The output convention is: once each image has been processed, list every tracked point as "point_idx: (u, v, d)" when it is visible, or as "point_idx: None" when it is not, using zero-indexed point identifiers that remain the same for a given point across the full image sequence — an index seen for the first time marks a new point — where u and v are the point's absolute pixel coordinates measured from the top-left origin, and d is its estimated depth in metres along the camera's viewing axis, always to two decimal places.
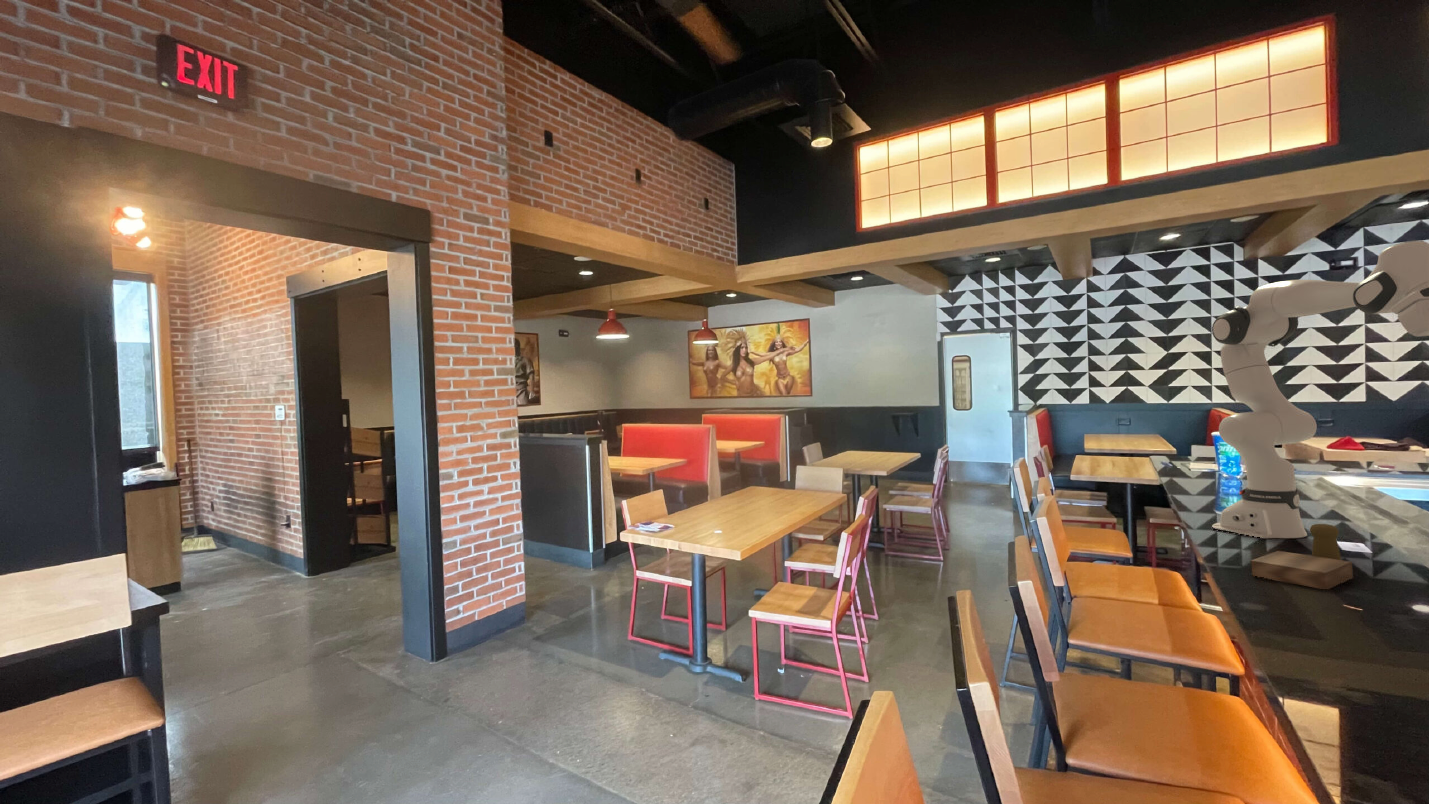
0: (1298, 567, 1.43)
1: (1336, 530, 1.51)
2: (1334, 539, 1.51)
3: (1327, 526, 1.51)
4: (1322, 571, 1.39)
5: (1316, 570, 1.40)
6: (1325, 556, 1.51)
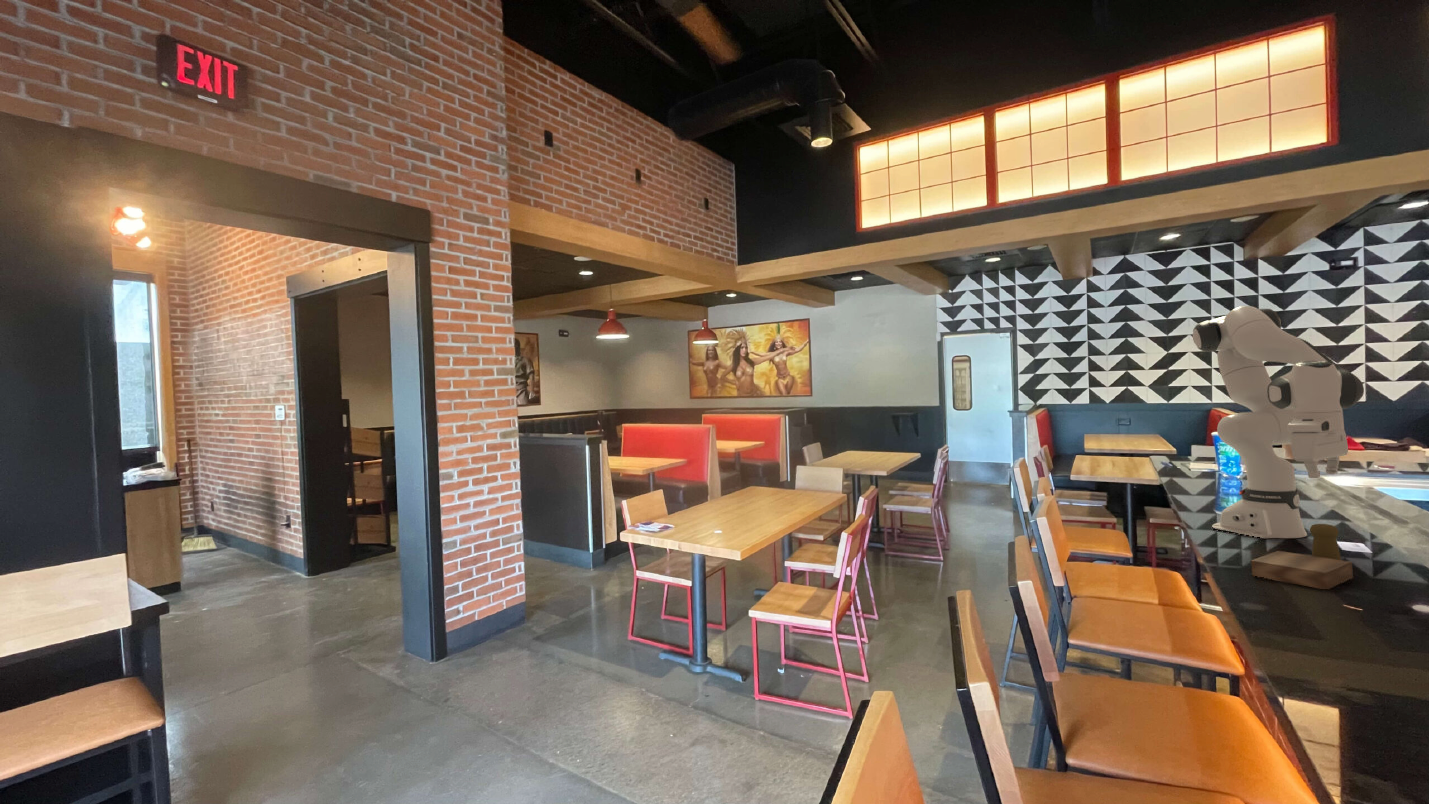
0: (1298, 567, 1.43)
1: (1336, 530, 1.51)
2: (1334, 539, 1.51)
3: (1327, 526, 1.51)
4: (1322, 571, 1.39)
5: (1316, 570, 1.40)
6: (1325, 556, 1.51)
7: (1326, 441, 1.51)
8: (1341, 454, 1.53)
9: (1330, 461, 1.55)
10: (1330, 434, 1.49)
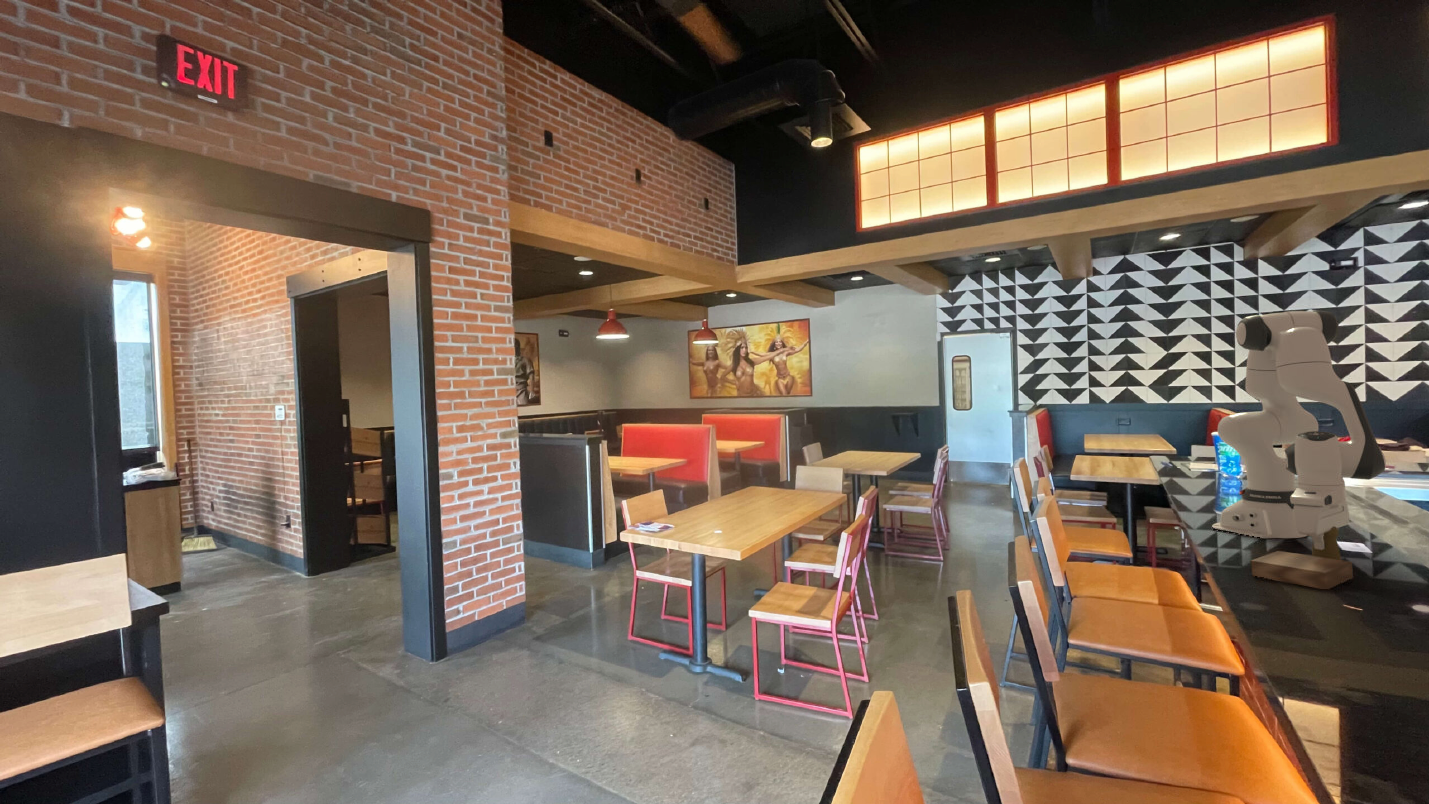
0: (1298, 567, 1.43)
1: (1336, 530, 1.51)
2: (1334, 539, 1.51)
3: None
4: (1322, 571, 1.39)
5: (1316, 570, 1.40)
6: (1325, 556, 1.51)
7: (1328, 513, 1.51)
8: (1343, 524, 1.54)
9: None
10: (1332, 507, 1.50)
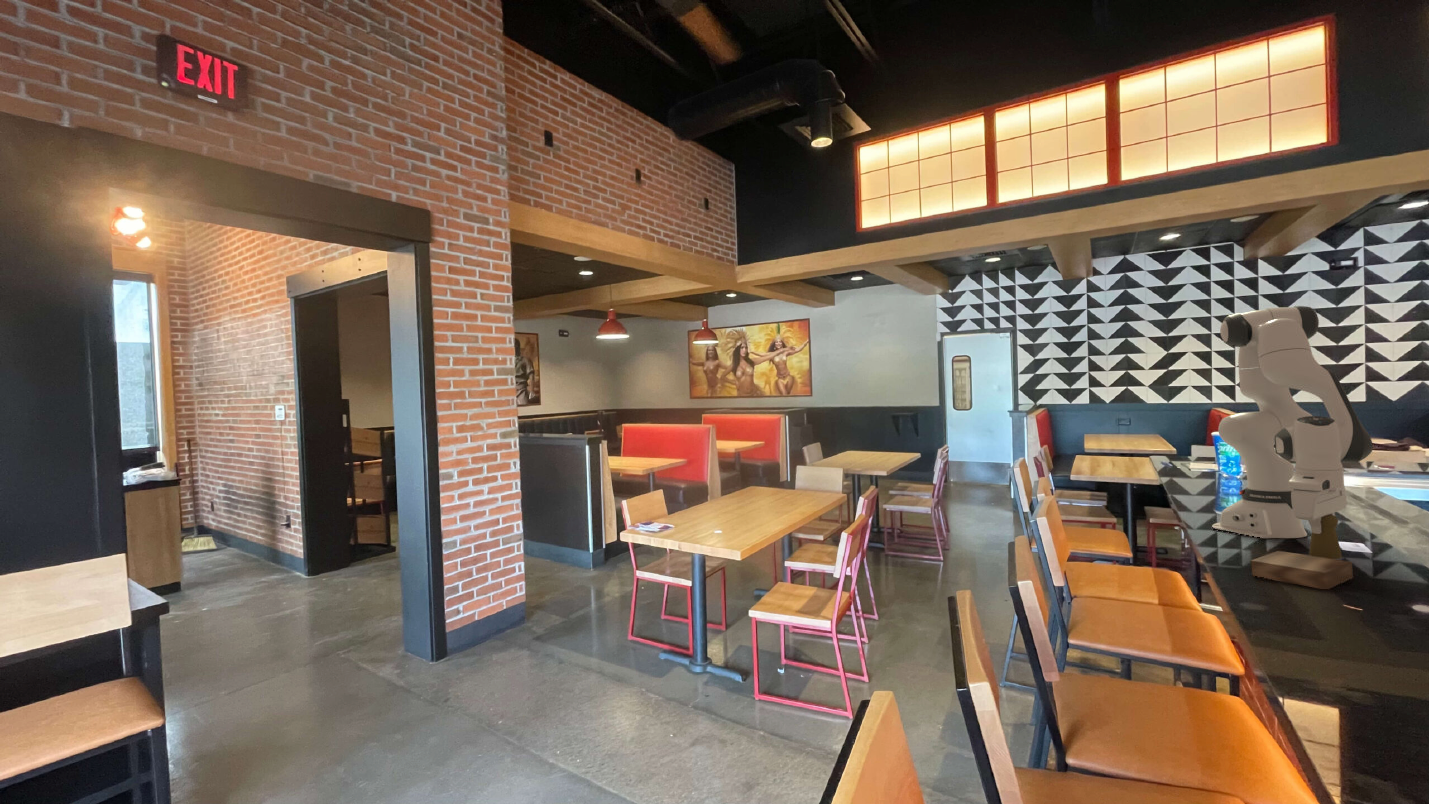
0: (1298, 567, 1.43)
1: (1335, 519, 1.51)
2: (1333, 528, 1.51)
3: (1327, 516, 1.52)
4: (1322, 571, 1.39)
5: (1316, 570, 1.40)
6: (1324, 545, 1.52)
7: (1326, 497, 1.52)
8: (1340, 509, 1.54)
9: None
10: (1330, 491, 1.50)
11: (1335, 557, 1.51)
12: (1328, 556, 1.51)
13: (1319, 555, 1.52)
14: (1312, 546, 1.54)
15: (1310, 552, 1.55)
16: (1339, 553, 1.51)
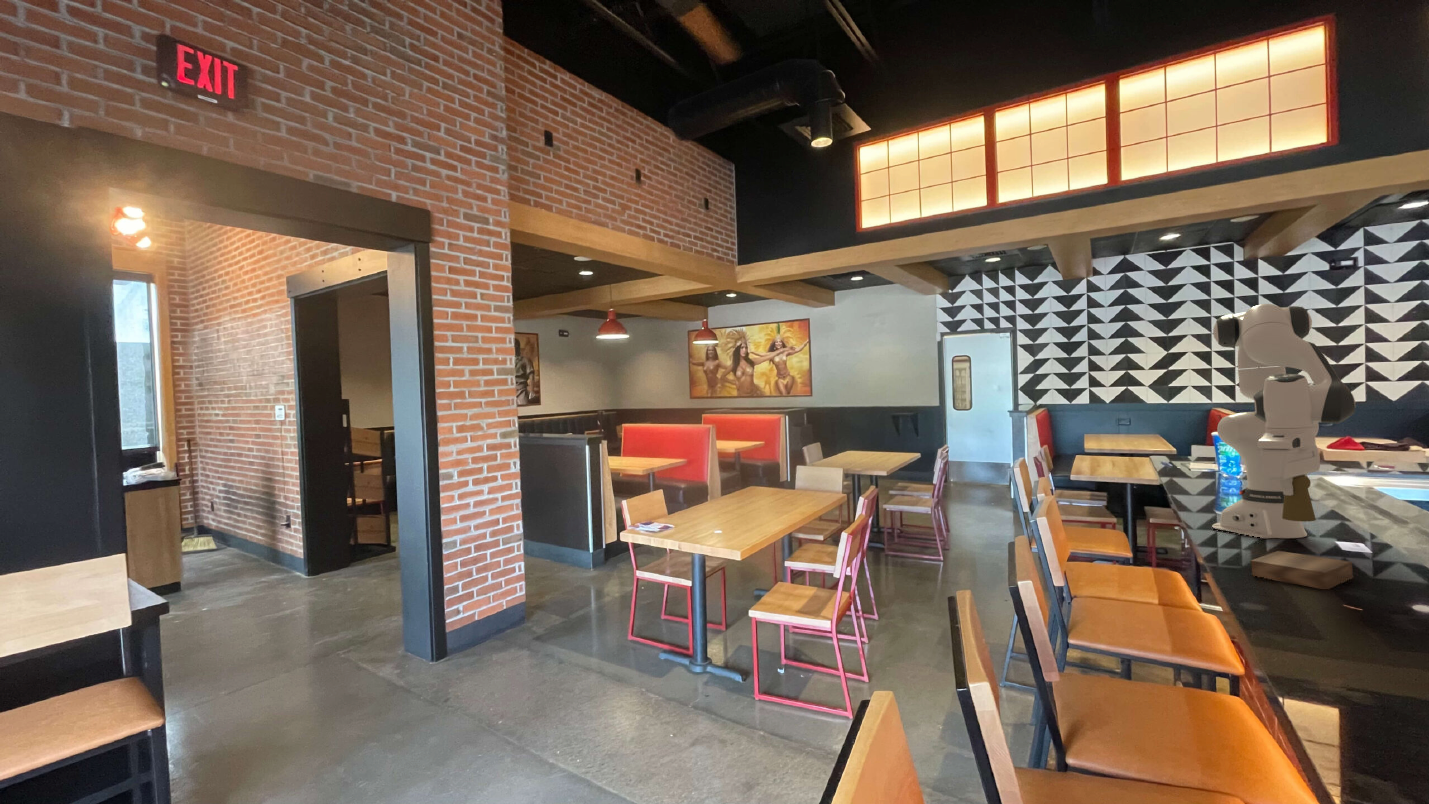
0: (1298, 567, 1.43)
1: (1308, 480, 1.45)
2: (1306, 490, 1.45)
3: (1299, 477, 1.45)
4: (1322, 571, 1.39)
5: (1316, 570, 1.40)
6: (1297, 507, 1.45)
7: (1297, 457, 1.45)
8: (1313, 470, 1.48)
9: None
10: (1301, 451, 1.44)
11: (1308, 519, 1.44)
12: (1301, 519, 1.44)
13: (1292, 518, 1.46)
14: (1284, 510, 1.48)
15: (1283, 516, 1.48)
16: (1312, 515, 1.44)
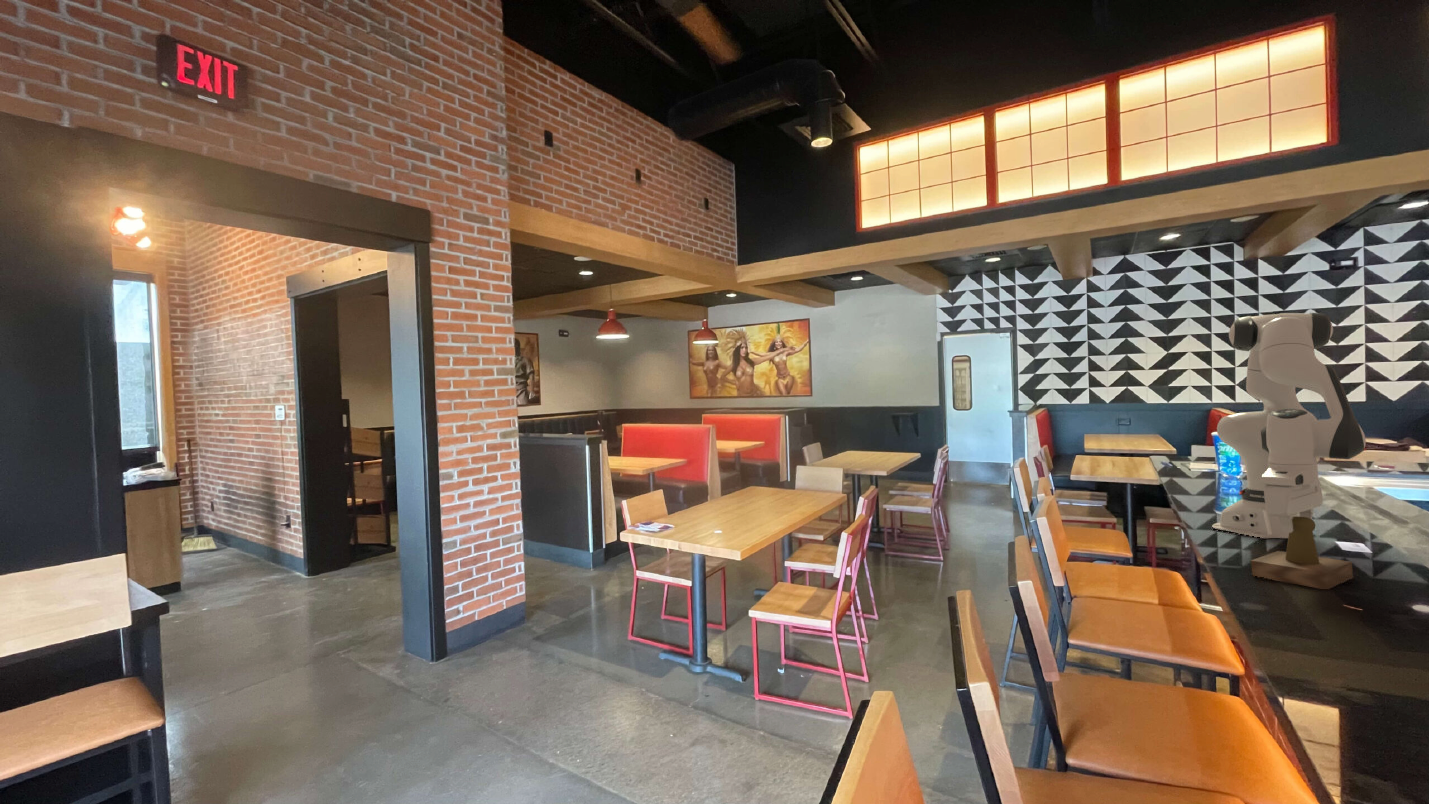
0: (1298, 567, 1.43)
1: (1313, 523, 1.44)
2: (1310, 532, 1.45)
3: (1304, 520, 1.45)
4: (1322, 571, 1.39)
5: (1316, 570, 1.40)
6: (1300, 550, 1.45)
7: (1300, 493, 1.45)
8: (1316, 506, 1.48)
9: (1304, 513, 1.50)
10: (1304, 487, 1.44)
11: (1312, 562, 1.44)
12: (1305, 561, 1.45)
13: (1295, 560, 1.46)
14: (1288, 551, 1.48)
15: (1286, 557, 1.48)
16: (1316, 558, 1.44)
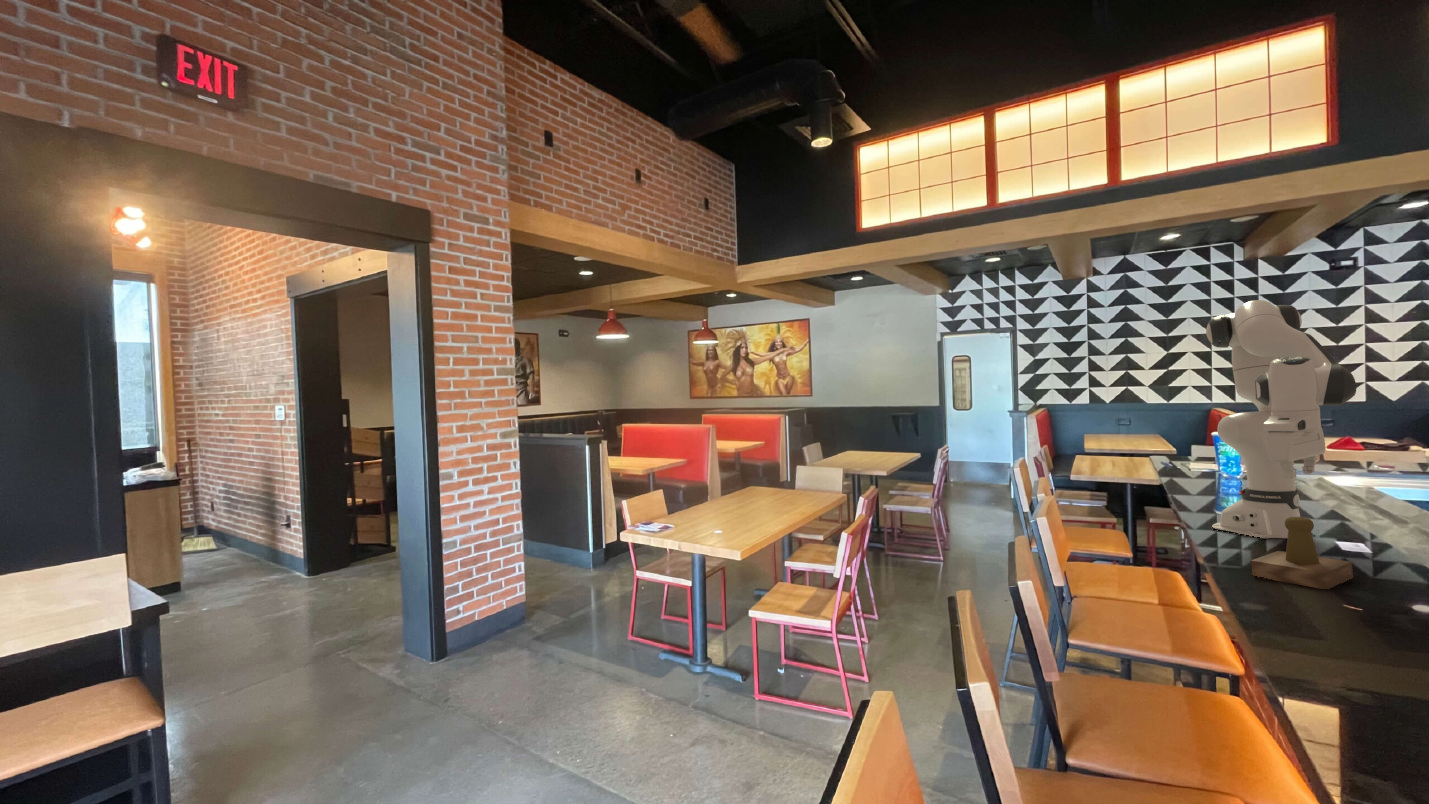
0: (1298, 567, 1.43)
1: (1311, 523, 1.45)
2: (1309, 532, 1.45)
3: (1302, 519, 1.45)
4: (1322, 571, 1.39)
5: (1316, 570, 1.40)
6: (1300, 550, 1.45)
7: (1303, 440, 1.46)
8: (1318, 453, 1.48)
9: (1307, 460, 1.50)
10: (1307, 433, 1.44)
11: (1312, 562, 1.44)
12: (1304, 561, 1.45)
13: (1295, 560, 1.46)
14: (1288, 552, 1.48)
15: (1286, 558, 1.48)
16: (1316, 558, 1.44)
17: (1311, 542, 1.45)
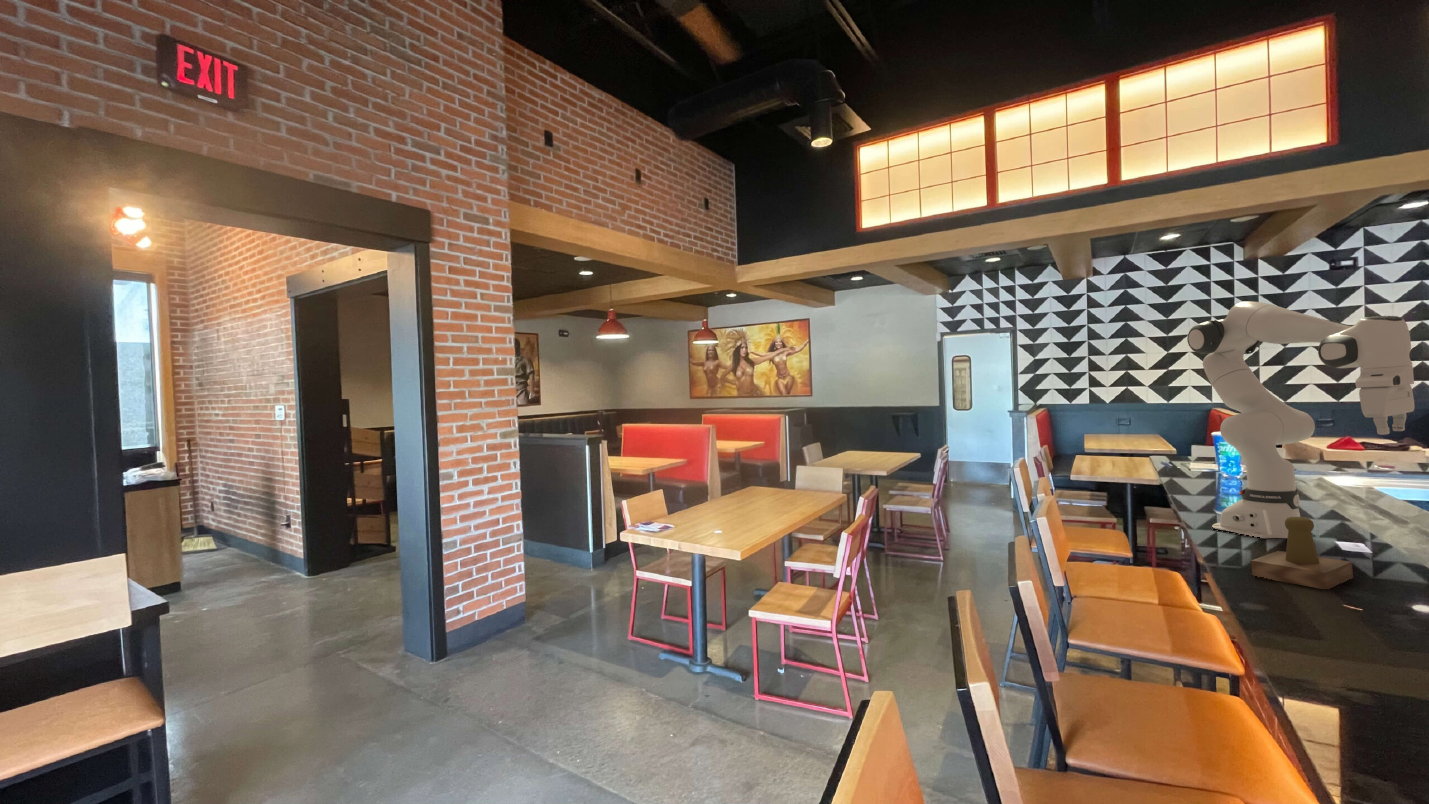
0: (1298, 567, 1.43)
1: (1311, 523, 1.45)
2: (1309, 532, 1.45)
3: (1302, 519, 1.45)
4: (1322, 571, 1.39)
5: (1316, 570, 1.40)
6: (1300, 550, 1.45)
7: (1395, 396, 1.47)
8: (1408, 410, 1.50)
9: (1396, 418, 1.52)
10: (1400, 389, 1.46)
11: (1312, 562, 1.44)
12: (1304, 561, 1.45)
13: (1295, 560, 1.46)
14: (1288, 552, 1.48)
15: (1286, 558, 1.48)
16: (1316, 558, 1.44)
17: (1311, 542, 1.45)
